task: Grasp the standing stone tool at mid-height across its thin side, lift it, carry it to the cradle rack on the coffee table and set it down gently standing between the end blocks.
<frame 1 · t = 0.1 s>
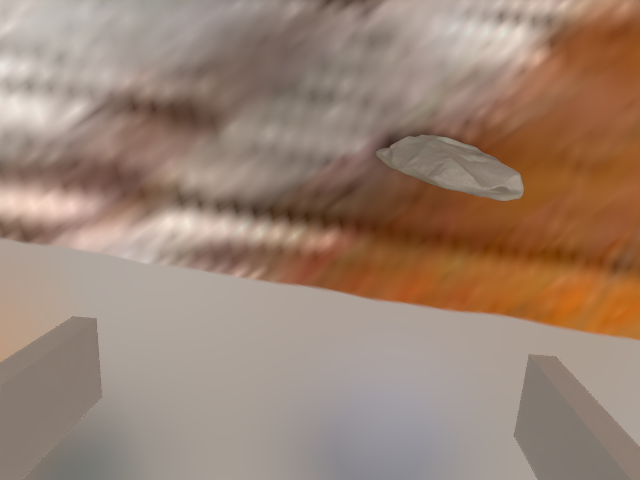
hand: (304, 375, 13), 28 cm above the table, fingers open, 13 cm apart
stone tool: (433, 160, 39), on the table
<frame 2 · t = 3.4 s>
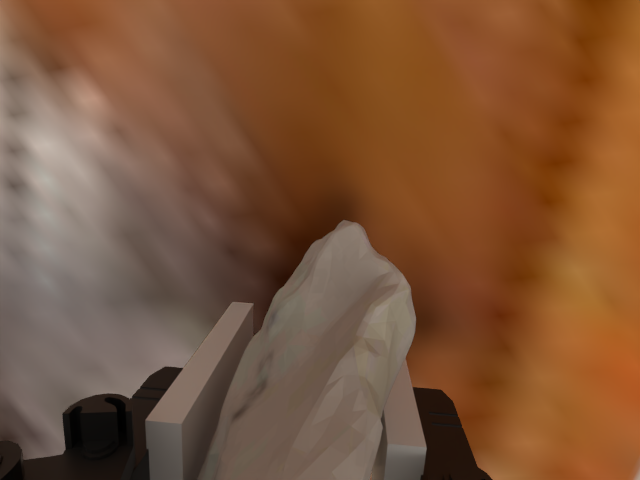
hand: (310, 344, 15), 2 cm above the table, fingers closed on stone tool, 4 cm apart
stone tool: (314, 322, 17), on the table, touching gripper
when the fingers open (4 cm above the table, at t = 9.0 s): stone tool drops 1 cm, resting on rack.
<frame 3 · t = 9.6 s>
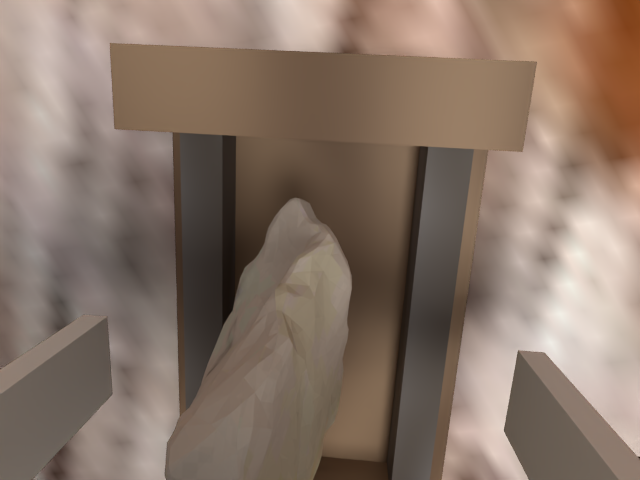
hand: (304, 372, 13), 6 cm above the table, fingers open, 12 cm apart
stone tool: (305, 305, 18), point 1 cm above the table, touching rack
rack: (319, 301, 19), on the table
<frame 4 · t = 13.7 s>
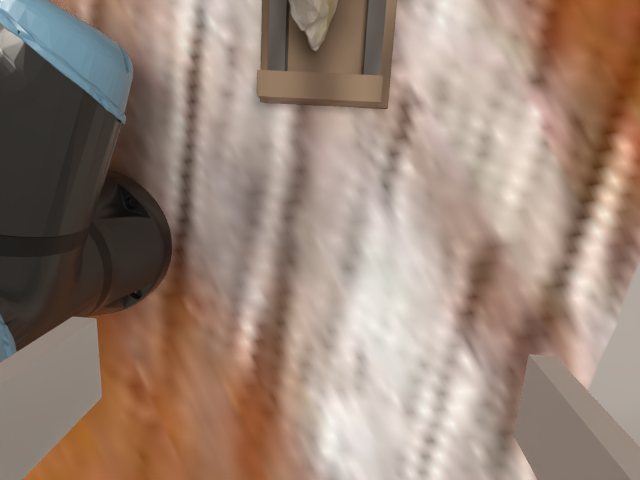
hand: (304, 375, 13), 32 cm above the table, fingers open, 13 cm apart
rack: (329, 3, 40), on the table
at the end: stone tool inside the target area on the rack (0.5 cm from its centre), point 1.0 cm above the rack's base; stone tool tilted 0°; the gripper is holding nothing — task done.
